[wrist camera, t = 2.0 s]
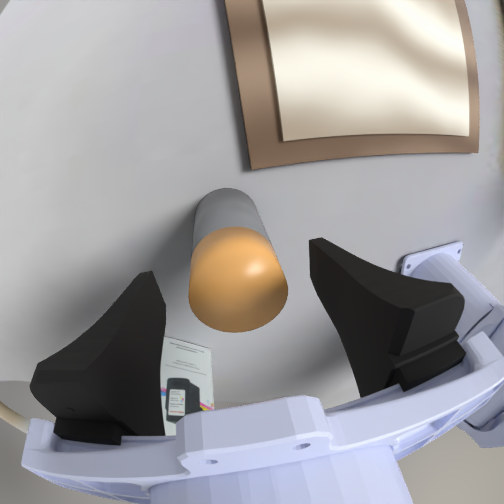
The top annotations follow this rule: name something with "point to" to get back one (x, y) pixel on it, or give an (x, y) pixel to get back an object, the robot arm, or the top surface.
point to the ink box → (184, 381)
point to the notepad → (354, 78)
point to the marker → (233, 265)
